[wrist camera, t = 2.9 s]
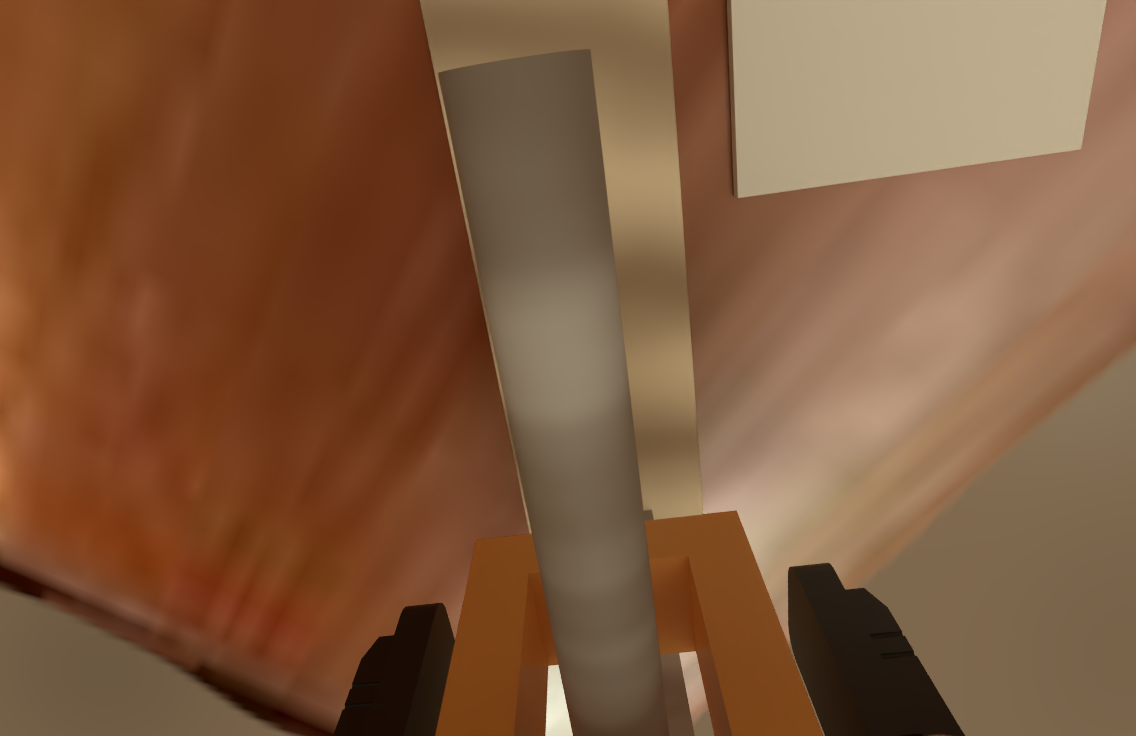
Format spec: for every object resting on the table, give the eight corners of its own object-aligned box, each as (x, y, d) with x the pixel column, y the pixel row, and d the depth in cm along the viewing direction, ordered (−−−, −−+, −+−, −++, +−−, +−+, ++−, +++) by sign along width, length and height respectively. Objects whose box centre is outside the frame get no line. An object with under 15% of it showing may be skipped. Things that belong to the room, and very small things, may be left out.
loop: (497, 627, 15) (448, 989, 9) (476, 540, 14) (404, 882, 8) (740, 602, 14) (857, 962, 8) (736, 510, 13) (866, 846, 7)
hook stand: (699, 539, 28) (885, 1197, 11) (540, 557, 28) (498, 1215, 12) (650, -134, 18) (1377, -2123, 2) (410, -91, 19) (-784, -1383, 2)
